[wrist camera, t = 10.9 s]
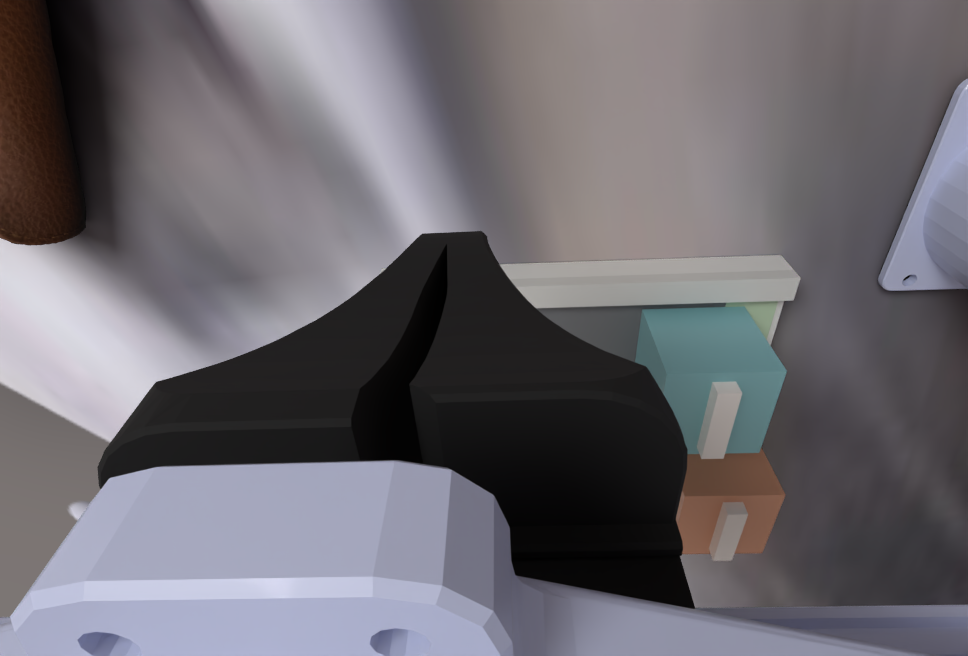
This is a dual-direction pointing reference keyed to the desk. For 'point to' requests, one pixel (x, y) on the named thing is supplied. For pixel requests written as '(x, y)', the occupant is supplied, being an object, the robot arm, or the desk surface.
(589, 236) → the desk surface
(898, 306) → the desk surface
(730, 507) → the orange block with handle
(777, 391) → the teal handled block
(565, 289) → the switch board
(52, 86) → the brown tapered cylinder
